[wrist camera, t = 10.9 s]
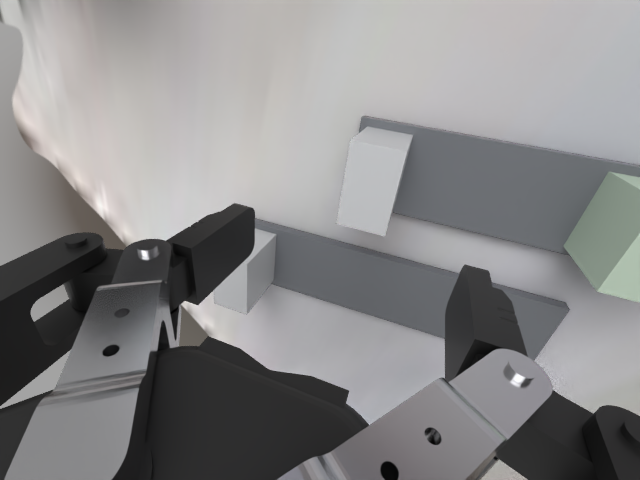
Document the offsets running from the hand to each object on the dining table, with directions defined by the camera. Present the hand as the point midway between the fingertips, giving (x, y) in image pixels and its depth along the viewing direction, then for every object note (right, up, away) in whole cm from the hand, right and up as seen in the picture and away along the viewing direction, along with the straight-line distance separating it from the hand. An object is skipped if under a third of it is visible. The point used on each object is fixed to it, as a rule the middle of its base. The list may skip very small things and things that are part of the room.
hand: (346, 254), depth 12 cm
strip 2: (+4, -3, +15) cm, 16 cm away
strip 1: (+14, +3, +8) cm, 16 cm away
